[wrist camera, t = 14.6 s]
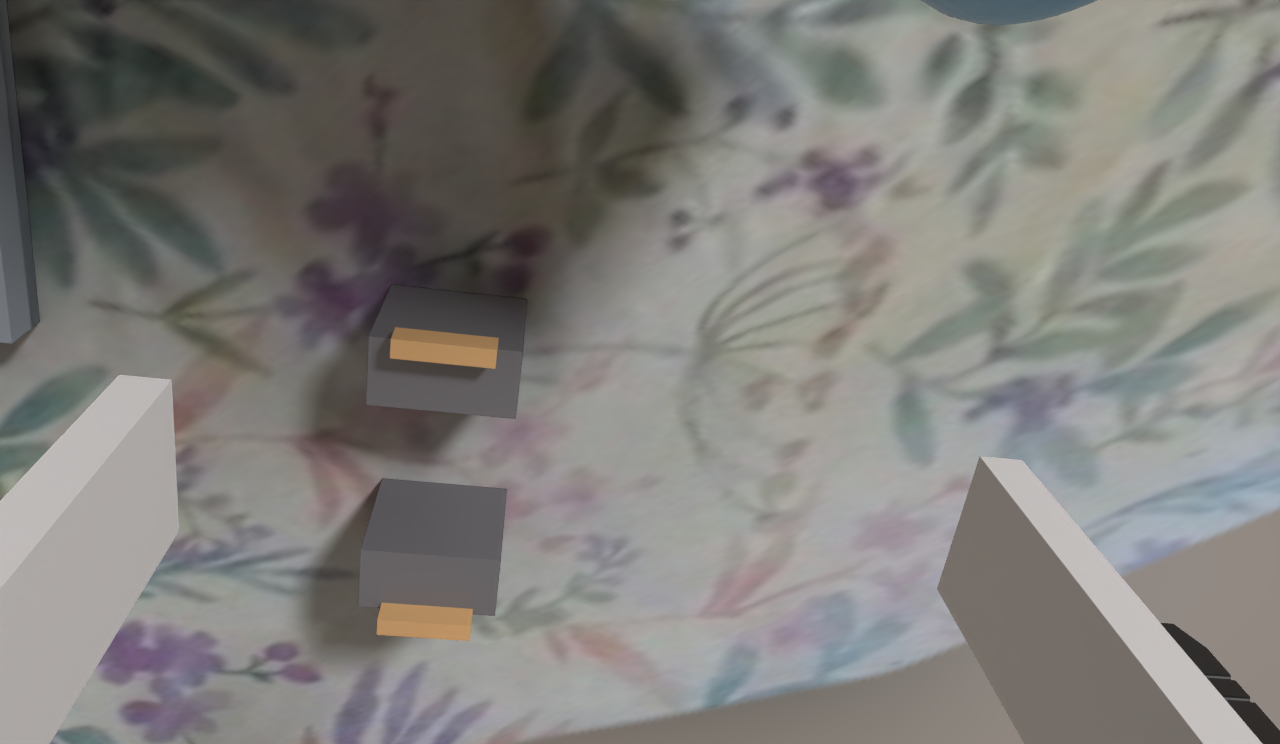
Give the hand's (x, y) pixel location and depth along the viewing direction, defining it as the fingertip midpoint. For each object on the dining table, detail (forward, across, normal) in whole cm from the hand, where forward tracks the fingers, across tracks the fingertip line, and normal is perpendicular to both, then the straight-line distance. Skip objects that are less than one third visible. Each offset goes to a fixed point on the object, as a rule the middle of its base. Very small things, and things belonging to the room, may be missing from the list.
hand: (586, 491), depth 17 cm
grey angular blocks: (+29, -4, -14) cm, 32 cm away
